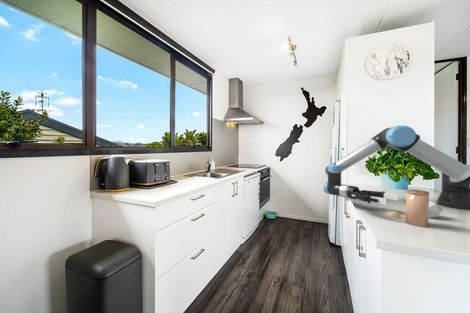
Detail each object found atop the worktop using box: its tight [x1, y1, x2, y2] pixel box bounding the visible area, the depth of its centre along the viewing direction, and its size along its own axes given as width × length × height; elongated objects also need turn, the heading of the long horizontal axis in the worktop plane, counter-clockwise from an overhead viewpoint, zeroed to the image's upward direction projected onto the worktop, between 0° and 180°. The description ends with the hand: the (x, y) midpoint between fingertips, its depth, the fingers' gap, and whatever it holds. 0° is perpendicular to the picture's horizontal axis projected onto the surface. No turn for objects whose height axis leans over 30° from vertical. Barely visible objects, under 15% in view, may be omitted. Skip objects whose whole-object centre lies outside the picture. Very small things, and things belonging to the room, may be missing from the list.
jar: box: [405, 189, 430, 228], centre depth 89 cm, size 8×8×15 cm
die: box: [428, 200, 443, 219], centre depth 97 cm, size 8×9×10 cm
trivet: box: [385, 210, 406, 220], centre depth 100 cm, size 11×11×1 cm
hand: (392, 200), depth 97 cm, fingers open, 13 cm apart
